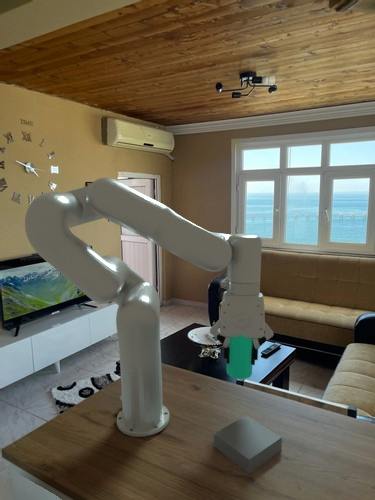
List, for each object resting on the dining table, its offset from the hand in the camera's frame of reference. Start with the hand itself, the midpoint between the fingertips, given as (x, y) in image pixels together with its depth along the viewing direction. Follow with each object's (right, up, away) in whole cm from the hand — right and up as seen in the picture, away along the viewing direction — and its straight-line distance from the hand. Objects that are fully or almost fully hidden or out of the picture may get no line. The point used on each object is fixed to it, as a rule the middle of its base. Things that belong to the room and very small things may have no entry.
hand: (240, 361), depth 86 cm
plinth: (0, -16, -9) cm, 18 cm away
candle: (0, -3, +1) cm, 3 cm away
